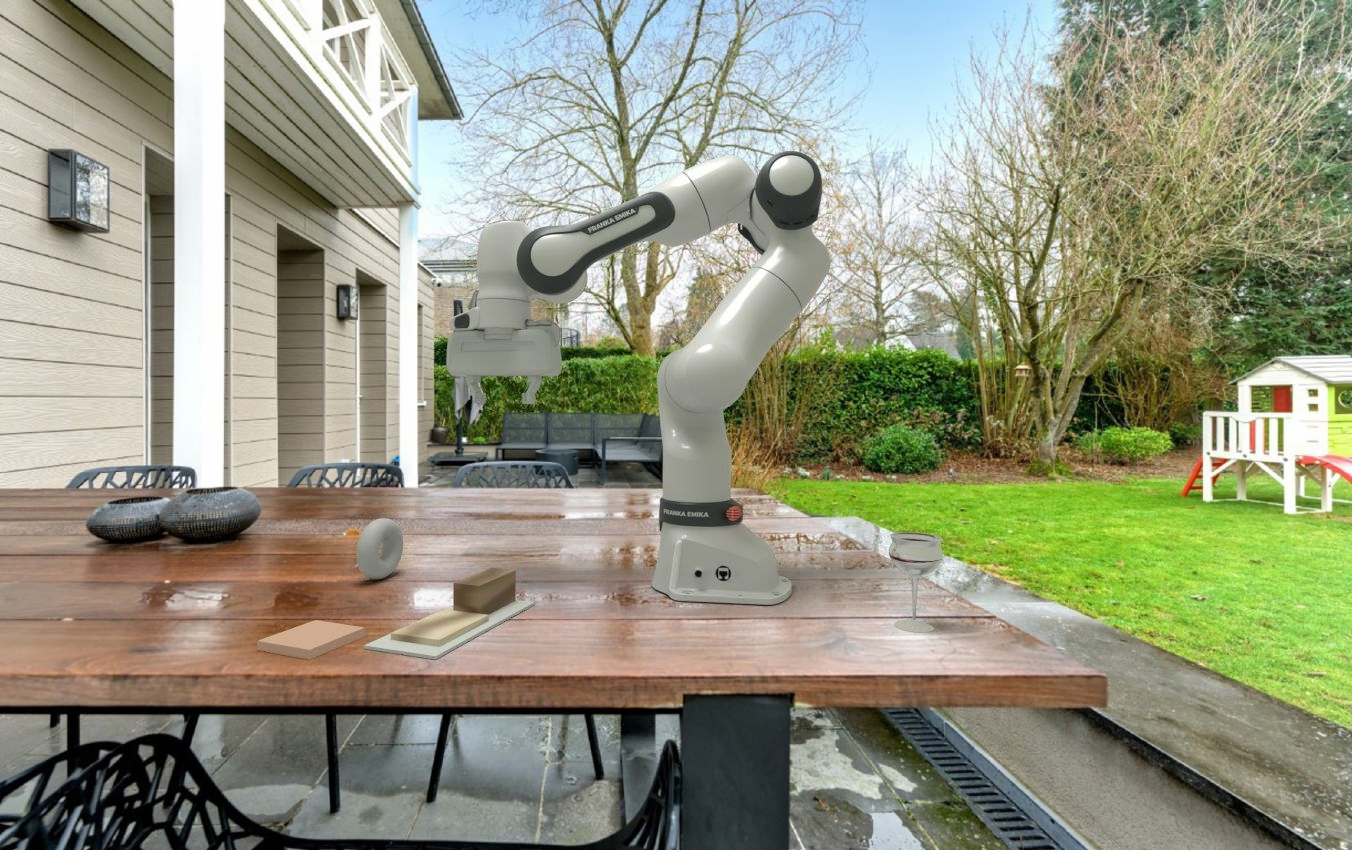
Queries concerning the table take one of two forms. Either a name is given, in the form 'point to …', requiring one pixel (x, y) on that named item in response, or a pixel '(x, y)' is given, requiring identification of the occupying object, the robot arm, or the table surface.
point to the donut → (370, 545)
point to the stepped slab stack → (463, 608)
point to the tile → (311, 639)
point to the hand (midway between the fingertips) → (503, 403)
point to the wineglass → (915, 566)
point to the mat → (436, 652)
